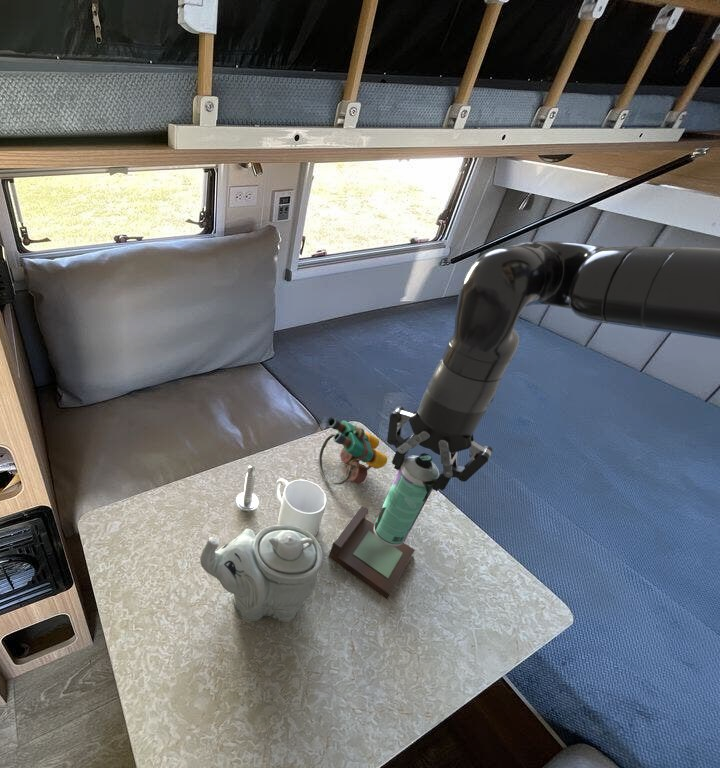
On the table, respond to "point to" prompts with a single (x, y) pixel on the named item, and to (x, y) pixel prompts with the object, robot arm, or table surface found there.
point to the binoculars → (354, 450)
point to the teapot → (266, 570)
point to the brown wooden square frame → (369, 555)
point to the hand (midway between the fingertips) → (417, 476)
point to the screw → (248, 493)
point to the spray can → (406, 499)
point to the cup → (301, 504)
